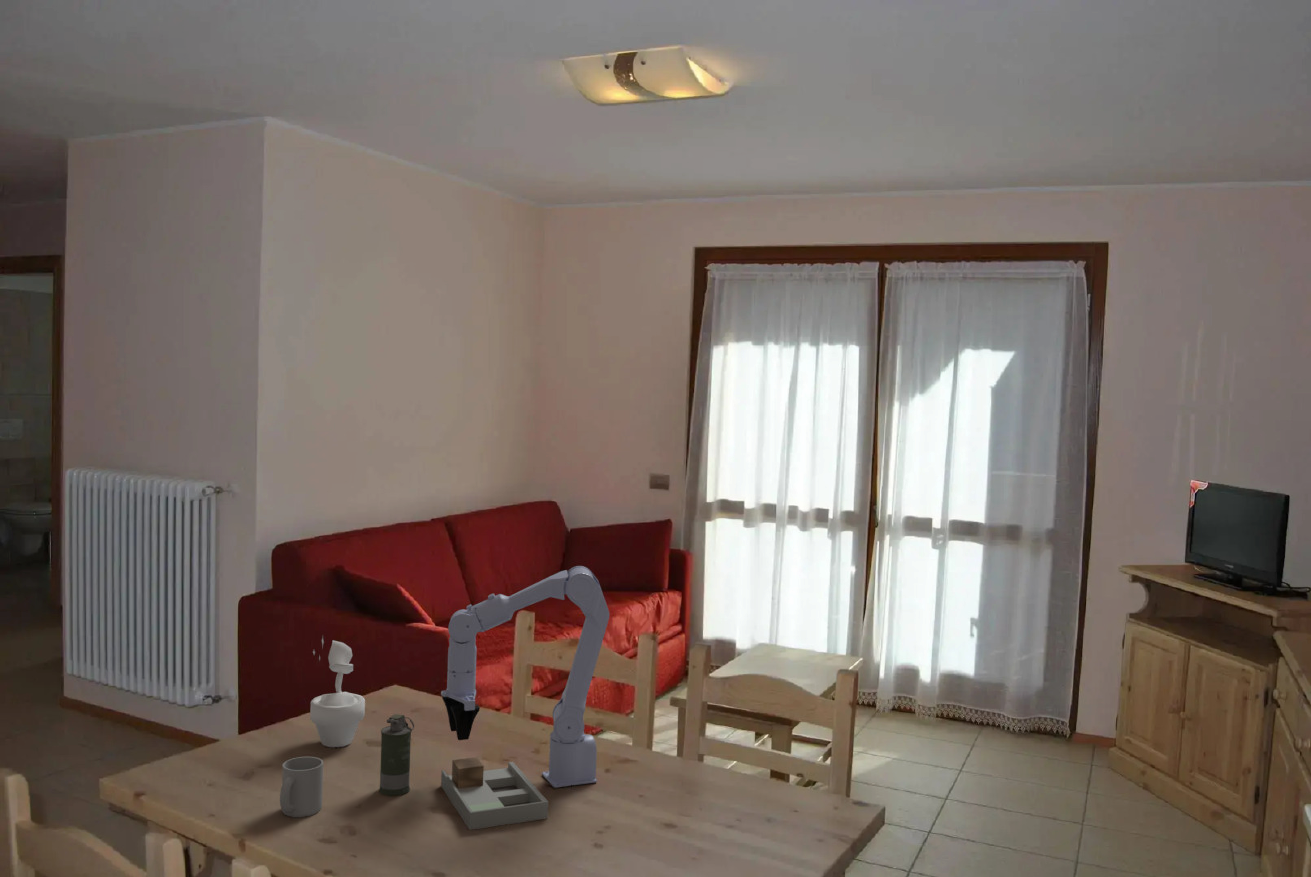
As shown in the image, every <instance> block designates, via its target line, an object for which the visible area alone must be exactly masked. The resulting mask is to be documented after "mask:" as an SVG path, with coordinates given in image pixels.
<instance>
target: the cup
mask: <svg viewBox="0 0 1311 877" xmlns="http://www.w3.org/2000/svg"><path fill="white" fill-rule="evenodd" d="M281 780H282V781H281V787H280V791H279V792H280V794H279V805H280V809H281V812H282V814H284V816H286V815H287V816H286V817H289V816H292V817H291V818H306V817H305V816H307V817H312V816H313V815H316V814H318V813H319V812H320V811H321V809H322V806H323V788H324V787H323V784H324V782H323V781H324V760H323V759H321V758H319V757H315V756H299V757H294V758H290V759H288V760H287V759H286V761H284V762H283V763H282V778H281ZM317 812H318V813H317Z"/></svg>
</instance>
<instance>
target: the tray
mask: <svg viewBox="0 0 1311 877" xmlns="http://www.w3.org/2000/svg"><path fill="white" fill-rule="evenodd" d="M507 766H508V767H506V768H498V769H497V768H495V769H489V770H483V786H477V787H469V788H461V789H458V788H457V787H456V785H455V784H454V782H453V781H452V774H448V773H447V772H446V771H445V769H443V770H441V775H440V776H441V777H440V778H441V779H440V787H441V786H442V787H441V788H442V790H443V791H444V793H445V794H446V796H447V797H448V799H449V800H450V802H451V804H452V805H453V806H454V808H455V809H456V811H457V813H458V814H459V816H460V817H461V819H462V820H463V822H464V823H465V825H466V826H467V828H468V830H469V831H471V830H479V829H486V828H491V827H500V826H504V825H505V824H507V825H511V824H519V823H526V822H532V821H538V820H546V819H548V816H549V815H548V813H549V801H548V800H547V799H546V797H545V796H544V795H543V794H542V793H541V792H540V790H539V789H538V788H537V787H536V786H535V785H534V784H533V783H532V781H531V780H529V778H528V777H527V776H526V774H524V772H522V770H521V769H520V768H519V767H518V766H517V764H516V763H515V761H509V762H508V763H507ZM499 825H500V826H499Z"/></svg>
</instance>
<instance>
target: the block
mask: <svg viewBox="0 0 1311 877" xmlns="http://www.w3.org/2000/svg"><path fill="white" fill-rule="evenodd" d="M451 766H452V767H451V775H452V781H453V782H454V784H455V785H456V787H457V788H458V789H461V788H469V787H477V786H483V771H485V770H484V767H485V766H484V764H483V763H482V762H481V761H480V760H479V758H478V757H477V756H476V757H468V758H460V759H452V764H451Z"/></svg>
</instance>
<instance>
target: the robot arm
mask: <svg viewBox="0 0 1311 877" xmlns="http://www.w3.org/2000/svg"><path fill="white" fill-rule="evenodd" d="M565 595H566V596H567V598H568V599H569V600H570V601H571V602H572V603H573V604H575V605H576V606H577V607H578V608H579V609H580V610H581V612H582V614H583V615H584V618H585V619H584V622H583V626H582V629H581V632H580V636H579V639H578V643H577V647H576V649H575V650H576V651H575V653H574V657H573V661H572V664H571V667H570V671H569V674H568V678H567V681H566V685H565V688H564V690H563V691H562V695H561V698H560V699H559V701H558V702H557V703H556V704H555V706H554V707H553V708H552V709H553V710H552V719H553V730H552V732H550V734H549V736H550V737H549V754H548V755H549V757H548V771H542V773H541V774H542V776H543V778H545V779H546V781H548V783H549V784H550V785H551V786H552V787H553V788H556V789H557V788H562V787H564V788H566V787H572V786H579V785H585V784H586V785H587V784H594V783H597V782H598V779H596V778H597V775H596V774H597V756H598V754H597V753H598V750H597V743H596V740H595V738H594V736H593V735H592V734H585V732H584V730H585V720H584V714H585V710H586V703H587V696H588V694H589V690H590V686H591V683H592V679H593V675H594V672H595V669H596V665H597V661H598V657H599V655H600V651H601V648H602V644H603V641H604V637H605V633H606V630H607V627H608V623H609V620H610V614H611V613H610V611H609V607H608V604H607V601H606V598H605V596H604V593H603V590H602V587H601V585H600V582H599V579H598V578H597V577H596V575H595V574H594V573H593V572H592V571H591V569H589V568H588V567H586V566H583V565H576V566H573V567H571V568H570V569H569V570H567V569H565V570H561V571H559V572H556V573H554V574H553V575H550V576H548V577H546V578H544V579H542V580H540V581H538V582H535V583H534V584H531V585H529V586H528V587H525V588H523V589H522V590H519V591H517V592H516V593H514V594H511V595H509V596H507V595H505V594H501V593H499V594H496V595H495V593H491V594H489V595H488V596H487V599H485V600H483V601H481V602H479V603H476V604H474V605H472V604H469V605H466V609H464V608H463V609H458V610H457V611H455V612H454V613H453V614H452V616H451V617H450V621H449V623H448V627H447V628H448V634H449V639H448V643H449V644H448V645H449V646H448V648H447V650H448V652H447V676H446V677H447V678H446V680H447V682H446V689H445V690H441V692H440V695H441V698H442V701H443V703H444V705H445V708H446V712H447V716H448V723H449V728H450V731H451V732H455V733H456V737H457V740H458V741H467V740H469V738H470V735H471V732H472V728H473V723H474V721H475V719H476V716H477V715H478V714H479V712H480V710H481V709H480V708H481V707H480V705H478V704H476V696H477V689H476V682H477V680H476V679H477V678H476V677H477V649H478V648H477V645H476V643H477V642H476V641H477V640H476V639H477V638H476V637H477V634H478V633H484V632H486V631H489V630H490V629H493V628H495V627H497V626H499V625H502V624H504V623H506V622H509V621H511V620H512V618H513V615H514V613H515V612H516V611H518V610H521V609H524V608H526V607H529V606H531V605H533V604H536V603H540V602H541V601H544V600H547V599H549V598H554V599H558V600H562V601H564V600H565ZM571 785H572V786H571Z"/></svg>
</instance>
